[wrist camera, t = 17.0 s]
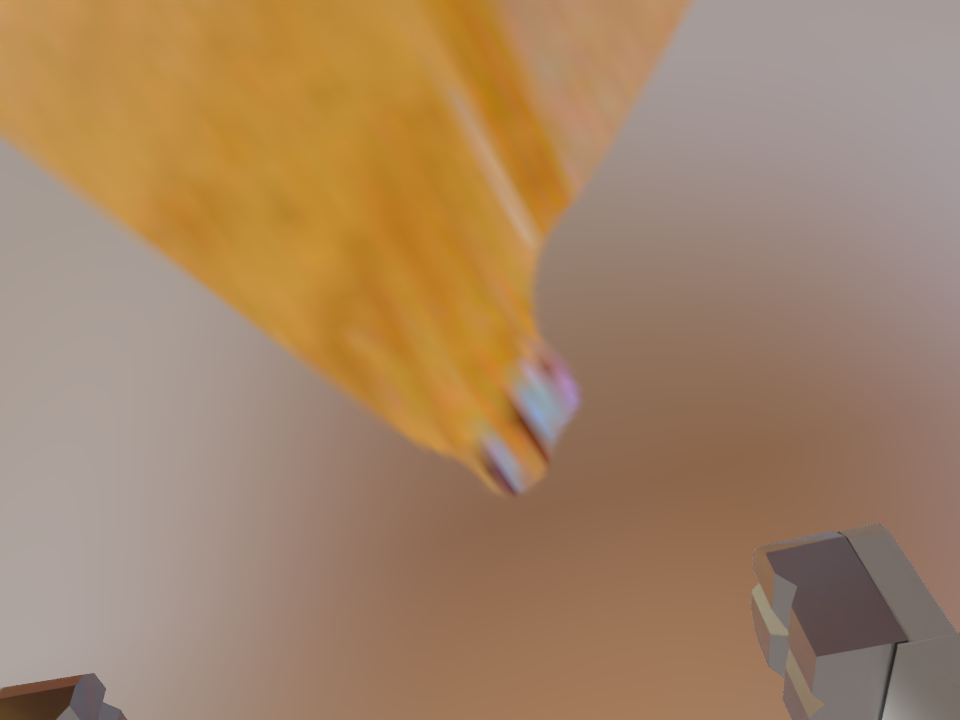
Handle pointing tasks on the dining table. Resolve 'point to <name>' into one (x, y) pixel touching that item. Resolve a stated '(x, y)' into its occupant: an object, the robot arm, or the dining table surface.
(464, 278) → the dining table surface
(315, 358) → the dining table surface
